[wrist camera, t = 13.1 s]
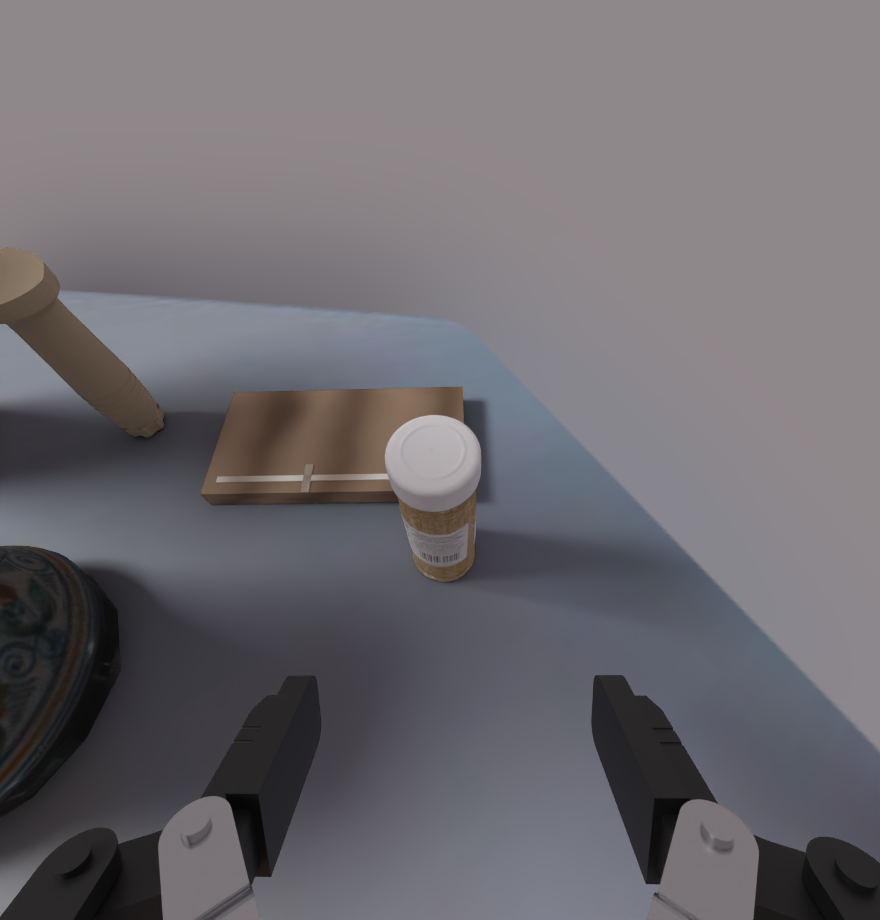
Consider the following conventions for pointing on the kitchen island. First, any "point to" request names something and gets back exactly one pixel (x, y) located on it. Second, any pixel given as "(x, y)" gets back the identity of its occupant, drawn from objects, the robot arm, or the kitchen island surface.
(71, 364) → the handle
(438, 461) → the sprinkles bottle
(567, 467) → the kitchen island surface
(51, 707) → the beer stein
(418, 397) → the walnut board
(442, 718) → the kitchen island surface
